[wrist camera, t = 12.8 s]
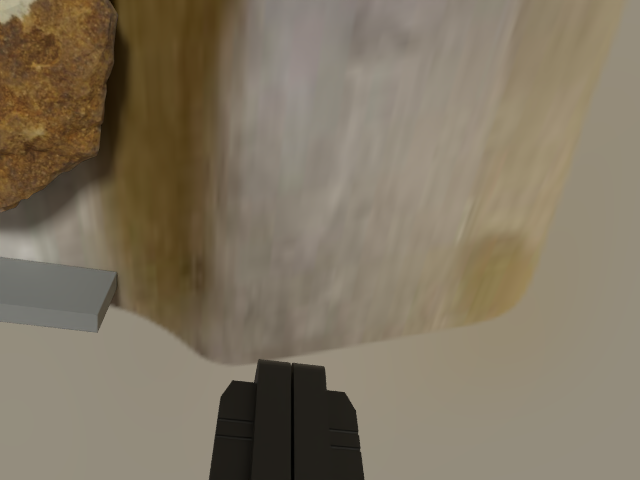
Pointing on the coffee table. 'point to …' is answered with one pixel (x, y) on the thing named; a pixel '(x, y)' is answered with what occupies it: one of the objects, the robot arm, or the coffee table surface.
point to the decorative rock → (51, 89)
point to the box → (54, 294)
